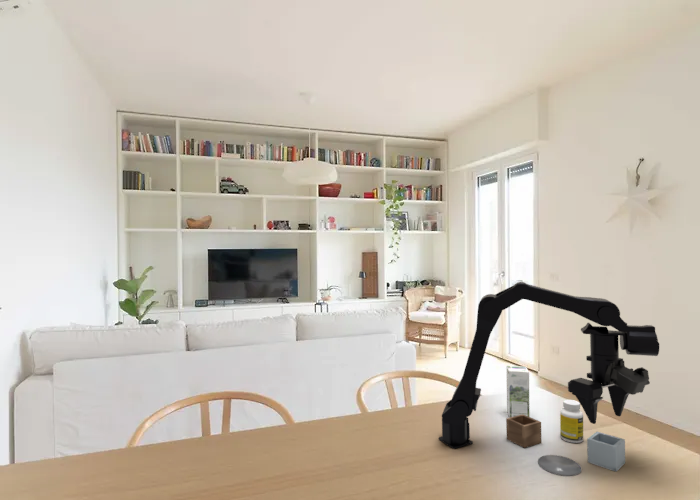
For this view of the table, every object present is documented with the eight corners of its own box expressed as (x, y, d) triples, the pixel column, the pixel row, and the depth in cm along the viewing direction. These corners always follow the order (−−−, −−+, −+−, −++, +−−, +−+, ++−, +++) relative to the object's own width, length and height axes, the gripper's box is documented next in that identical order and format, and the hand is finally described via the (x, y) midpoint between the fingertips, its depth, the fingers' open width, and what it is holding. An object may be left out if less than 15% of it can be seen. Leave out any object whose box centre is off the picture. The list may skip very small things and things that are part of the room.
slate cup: (616, 471, 97) (615, 447, 97) (587, 462, 101) (587, 438, 101) (625, 462, 101) (624, 439, 101) (597, 453, 105) (597, 431, 105)
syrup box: (526, 412, 132) (525, 365, 132) (530, 420, 126) (529, 371, 126) (506, 411, 133) (506, 364, 133) (509, 419, 128) (508, 370, 128)
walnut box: (524, 448, 109) (524, 426, 109) (506, 439, 114) (506, 418, 114) (541, 443, 112) (541, 422, 112) (523, 434, 117) (522, 414, 117)
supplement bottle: (581, 445, 110) (580, 407, 110) (558, 440, 113) (557, 403, 113) (585, 438, 114) (584, 401, 114) (562, 433, 117) (562, 397, 117)
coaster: (563, 479, 94) (563, 478, 94) (529, 461, 102) (529, 460, 102) (590, 470, 98) (590, 468, 98) (555, 453, 106) (555, 451, 106)
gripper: (613, 366, 90) (614, 441, 90) (665, 355, 98) (666, 423, 98) (565, 355, 100) (567, 422, 100) (616, 345, 108) (617, 408, 108)
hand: (605, 419), depth 101 cm, fingers open, 9 cm apart
